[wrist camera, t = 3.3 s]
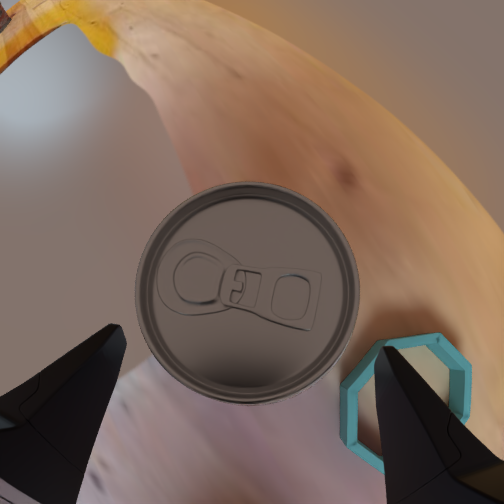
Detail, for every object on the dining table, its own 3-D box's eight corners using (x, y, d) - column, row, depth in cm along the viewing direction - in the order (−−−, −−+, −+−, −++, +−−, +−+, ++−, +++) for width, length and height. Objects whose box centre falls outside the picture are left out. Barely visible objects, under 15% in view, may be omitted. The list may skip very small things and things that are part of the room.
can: (221, 257, 20) (160, 154, 8) (321, 277, 19) (386, 192, 8) (198, 356, 18) (97, 377, 7) (300, 378, 18) (347, 439, 6)
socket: (397, 480, 15) (408, 490, 13) (311, 414, 17) (315, 423, 15) (474, 382, 16) (490, 385, 14) (400, 309, 18) (413, 306, 16)
